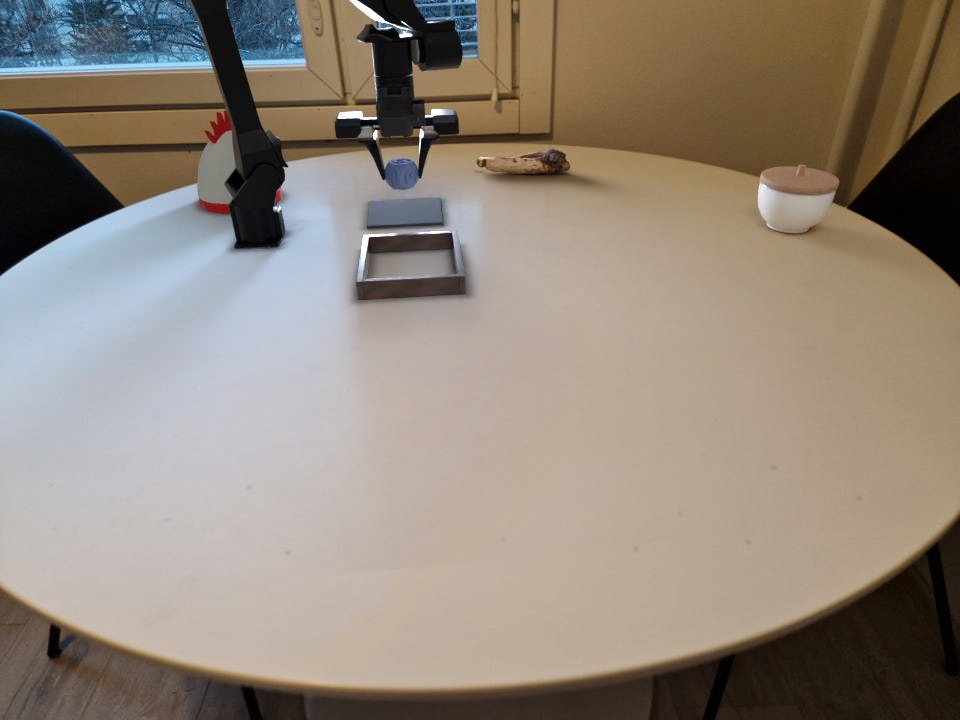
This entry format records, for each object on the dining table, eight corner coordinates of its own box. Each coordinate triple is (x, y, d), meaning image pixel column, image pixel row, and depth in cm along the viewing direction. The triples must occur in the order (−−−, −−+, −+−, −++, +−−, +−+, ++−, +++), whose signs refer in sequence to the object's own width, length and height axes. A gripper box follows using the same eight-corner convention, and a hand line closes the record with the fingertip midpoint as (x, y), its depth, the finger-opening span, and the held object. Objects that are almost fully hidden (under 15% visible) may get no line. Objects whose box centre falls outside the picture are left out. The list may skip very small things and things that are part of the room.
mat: (367, 228, 102) (366, 225, 102) (370, 203, 112) (370, 200, 112) (443, 224, 103) (442, 222, 103) (439, 199, 113) (439, 197, 113)
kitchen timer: (298, 195, 117) (283, 107, 109) (237, 218, 107) (215, 124, 99) (246, 183, 123) (228, 100, 115) (183, 204, 113) (159, 115, 105)
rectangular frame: (358, 299, 82) (355, 282, 80) (365, 251, 95) (363, 235, 93) (465, 293, 82) (465, 276, 81) (458, 246, 96) (457, 230, 94)
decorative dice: (385, 186, 105) (382, 161, 103) (403, 180, 108) (401, 156, 105) (401, 191, 103) (399, 166, 101) (420, 185, 105) (418, 160, 103)
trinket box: (748, 234, 98) (762, 172, 93) (752, 210, 106) (764, 152, 101) (826, 243, 94) (845, 179, 89) (824, 218, 103) (840, 158, 98)
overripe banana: (568, 166, 130) (479, 163, 132) (570, 142, 128) (479, 139, 129) (570, 179, 122) (475, 176, 124) (572, 153, 120) (475, 150, 121)
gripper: (324, 86, 89) (339, 197, 97) (460, 82, 90) (462, 192, 99) (332, 72, 98) (345, 175, 107) (455, 69, 99) (458, 171, 108)
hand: (401, 178), depth 105 cm, fingers closed on decorative dice, 5 cm apart
